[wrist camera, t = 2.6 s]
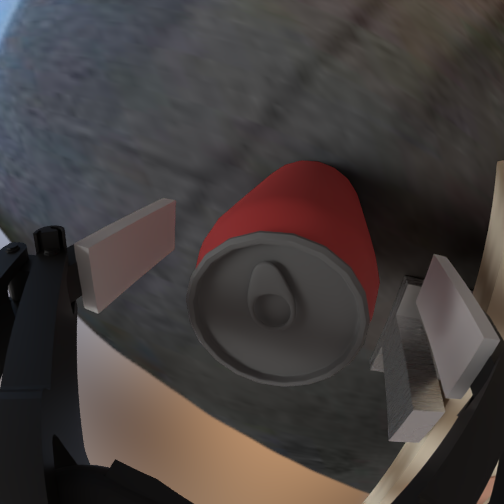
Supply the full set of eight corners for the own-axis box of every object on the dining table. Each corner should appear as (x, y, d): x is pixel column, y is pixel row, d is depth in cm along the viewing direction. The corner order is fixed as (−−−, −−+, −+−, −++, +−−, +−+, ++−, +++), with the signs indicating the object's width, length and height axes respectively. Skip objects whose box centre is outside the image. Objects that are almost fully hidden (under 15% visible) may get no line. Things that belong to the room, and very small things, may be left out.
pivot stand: (404, 275, 19) (437, 375, 11) (554, 309, 16) (601, 379, 8) (369, 359, 23) (371, 460, 14) (514, 376, 20) (541, 449, 11)
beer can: (355, 154, 17) (390, 204, 7) (362, 255, 20) (378, 397, 9) (250, 165, 19) (145, 226, 9) (266, 260, 22) (200, 390, 11)
